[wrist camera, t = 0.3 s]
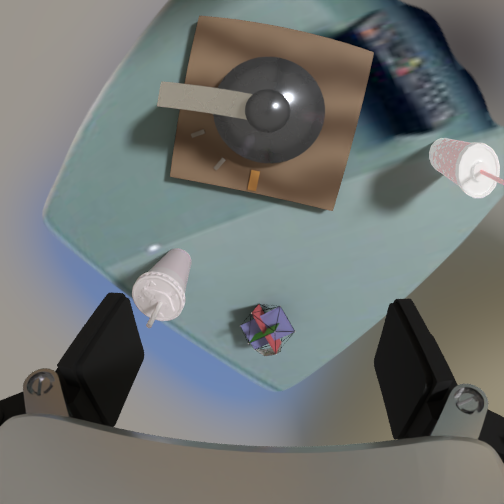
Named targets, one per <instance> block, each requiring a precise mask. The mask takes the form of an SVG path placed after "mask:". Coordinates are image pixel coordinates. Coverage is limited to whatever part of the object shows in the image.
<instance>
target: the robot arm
mask: <svg viewBox="0 0 504 504" xmlns="http://www.w3.org/2000/svg"><path fill="white" fill-rule="evenodd" d="M143 359H144V350H143V346H142V343H141V340H140V336H139V333H138V330H137V326H136V322H135V318H134V315H133V311H132V307H131V303H130V300H129V298H126V297H125V295H124V294H123V293H108V294H107V295H106V297H105V298H104V299H103V301H102V302H101V303H100V305H99V306H98V307H97V309H96V310H95V311H94V313H93V314H92V316H91V317H90V318H89V320H88V321H87V323H86V324H85V325H84V327H83V328H82V330H81V331H80V332H79V334H78V335H77V337H76V338H75V340H74V341H73V342H72V344H71V345H70V347H69V348H68V350H67V351H66V353H65V354H64V356H63V357H62V358H61V360H60V362H59V363H58V364H57V366H58V368H57V370H56V371H54V370H51V369H47V368H43V369H38V370H36V371H34V372H32V373H31V374H30V375H29V376H28V377H27V378H26V379H25V381H24V384H23V392H21V393H19V394H16V395H13V396H11V397H8V398H6V399H3V400H1V401H0V504H504V417H502V416H500V415H498V414H496V413H494V412H492V411H490V410H488V400H487V397H486V395H485V393H484V392H483V391H482V390H481V389H480V388H478V387H476V386H474V385H471V384H460V385H457V383H456V381H455V379H454V376H453V374H452V372H451V370H450V368H449V366H448V364H447V362H446V360H445V358H444V356H443V354H442V352H441V350H440V348H439V346H438V344H437V343H436V341H435V339H434V337H433V336H432V334H430V332H429V330H428V329H427V326H426V325H425V323H424V321H423V319H422V317H421V316H420V314H419V312H418V310H417V308H416V307H415V305H414V303H413V301H412V300H411V299H396V300H395V301H394V303H391V304H390V305H389V307H388V311H387V315H386V319H385V323H384V327H383V331H382V334H381V338H380V341H379V344H378V348H377V352H376V355H375V358H374V367H375V371H376V374H377V378H378V381H379V384H380V388H381V392H382V395H383V400H384V403H385V407H386V411H387V415H388V419H389V423H390V427H391V431H392V435H393V438H394V439H398V440H391V441H383V442H374V443H362V444H350V445H336V446H314V447H313V446H312V447H268V446H242V445H228V444H217V443H206V442H197V441H189V440H182V439H173V438H168V437H161V436H155V435H149V434H144V433H139V432H134V431H128V430H124V429H119V428H115V427H114V426H115V424H116V422H117V420H118V417H119V415H120V413H121V410H122V408H123V406H124V403H125V401H126V398H127V396H128V394H129V391H130V389H131V387H132V385H133V382H134V380H135V378H136V376H137V373H138V371H139V368H140V366H141V364H142V362H143Z"/></svg>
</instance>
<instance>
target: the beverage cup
mask: <svg viewBox="0 0 504 504" xmlns="http://www.w3.org/2000/svg"><path fill="white" fill-rule="evenodd" d="M429 159H430V162H431V165H432V166H433V167H434V168H435V169H436V170H437V171H438V172H440V173H441V174H443V175H444V176H446V177H447V178H449V179H450V180H451V181H453V182H454V183H456V184H457V185H458V186H460V188H461V189H462V190H463V192H465V193H466V194H467V195H469V196H471V197H473V198H483V197H485V196H487V195H488V194H490V193H491V192H492V190H493V189H494V188H495V187H496V184H497V182H498V183H500V184H502V185H504V180H502V179H500V178H499V172H500V165H499V161H498V157H497V155H496V153H495V152H494V150H493V149H492V148H491V147H489V146H488V145H486V144H484V143H474V142H473V143H469V142H464V141H458V140H453V139H447V138H440V139H438V140H436V141H435V142H434V143H433V144H432V145H431V148H430V151H429Z"/></svg>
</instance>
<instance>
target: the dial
mask: <svg viewBox="0 0 504 504" xmlns="http://www.w3.org/2000/svg"><path fill="white" fill-rule="evenodd" d="M157 106H159V107H168V108H176V109H184V110H191V111H198V112H205V113H211V114H213V116H214V122H215V125H216V128H217V130H218V133H219V134H220V136H221V138H222V139H223V141H224V142H225V143H226V144H227V145H228V146H229V147H230V148H231V149H232V150H233V151H234V152H236V153H237V154H239V155H240V156H242V157H244V158H246V159H249V160H251V161H255V162H259V163H280V162H285V161H288V160H291V159H293V158H295V157H297V156H299V155H301V154H302V153H304V152H305V151H306V150H307V149H308V148H309V147H310V146H311V145H312V144H313V143H314V142H315V140H316V139H317V137H318V136H319V134H320V132H321V130H322V126H323V123H324V118H325V103H324V98H323V95H322V92H321V90H320V87H319V86H318V84H317V82H316V81H315V79H314V78H313V77H312V76H311V75H310V74H309V73H308V72H307V71H306V70H305V69H304V68H302V67H301V66H299V65H298V64H296V63H294V62H292V61H289V60H286V59H283V58H278V57H258V58H254V59H250V60H248V61H245V62H243V63H241V64H239V65H237V66H236V67H235V68H233V69H232V70H231V71H230V72H229V73H228V74H227V75H226V76H225V77H224V78H223V80H222V81H221V83H220V85H219V86H218V88H212V87H205V86H198V85H190V84H181V83H171V82H161V86H160V91H159V97H158V103H157Z"/></svg>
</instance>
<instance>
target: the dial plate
mask: <svg viewBox="0 0 504 504" xmlns="http://www.w3.org/2000/svg"><path fill="white" fill-rule="evenodd" d="M373 54H374V52H371V51H368V50H365V49H362V48H359V47H356V46H353V45H350V44H346V43H343V42H340V41H336V40H333V39H329V38H326V37H322V36H318V35H314V34H310V33H306V32H302V31H298V30H293V29H288V28H284V27H279V26H273V25H268V24H262V23H256V22H250V21H243V20H236V19H228V18H219V17H208V16H199V19H198V23H197V27H196V32H195V36H194V40H193V45H192V49H191V54H190V59H189V64H188V69H187V74H186V79H185V84H190V85H198V86H205V87H212V88H218V86H219V85H220V83H221V81H222V80H223V78H224V77H225V76H226V75H227V74H228V73H229V72H230V71H231V70H232V69H233V68H235V67H236V66H237V65H239V64H241V63H243V62H245V61H248V60H250V59H254V58H258V57H278V58H283V59H286V60H289V61H292V62H294V63H296V64H298V65H299V66H301V67H302V68H304V69H305V70H306V71H307V72H308V73H309V74H310V75H311V76H312V77H313V78H314V79H315V81H316V82H317V84H318V86H319V87H320V90H321V92H322V95H323V98H324V103H325V118H324V123H323V126H322V130H321V132H320V134H319V136H318V137H317V139H316V140H315V142H314V143H313V144H312V145H311V146H310V147H309V148H308V149H307V150H306V151H305V152H304V153H302V154H301V155H299V156H297V157H295V158H293V159H291V160H288V161H285V162H280V163H259V162H255V161H251V160H249V159H246V158H244V157H242V156H240V155H239V154H237V153H236V152H234V151H233V150H232V149H231V148H230V147H229V146H228V145H227V144H226V143H225V142H224V141H223V139H222V138H221V136H220V134H219V133H218V130H217V128H216V125H215V122H214V116H213V114H211V113H205V112H198V111H191V110H184V109H180V112H179V118H178V124H177V130H176V137H175V143H174V150H173V157H172V165H171V172H170V177H175V178H180V179H186V180H191V181H197V182H202V183H207V184H212V185H217V186H223V187H228V188H232V189H237V190H242V191H247V192H252V193H256V194H261V195H266V196H270V197H275V198H279V199H284V200H288V201H292V202H297V203H301V204H305V205H310V206H314V207H318V208H322V209H326V210H330V211H333V208H334V205H335V202H336V198H337V195H338V192H339V188H340V185H341V181H342V178H343V174H344V171H345V167H346V164H347V160H348V156H349V153H350V149H351V145H352V141H353V138H354V134H355V130H356V126H357V122H358V118H359V114H360V110H361V106H362V102H363V98H364V94H365V90H366V85H367V81H368V77H369V72H370V68H371V63H372V58H373Z"/></svg>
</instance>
